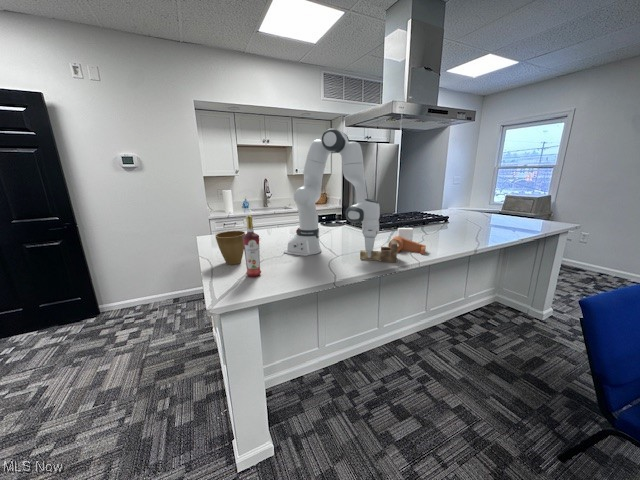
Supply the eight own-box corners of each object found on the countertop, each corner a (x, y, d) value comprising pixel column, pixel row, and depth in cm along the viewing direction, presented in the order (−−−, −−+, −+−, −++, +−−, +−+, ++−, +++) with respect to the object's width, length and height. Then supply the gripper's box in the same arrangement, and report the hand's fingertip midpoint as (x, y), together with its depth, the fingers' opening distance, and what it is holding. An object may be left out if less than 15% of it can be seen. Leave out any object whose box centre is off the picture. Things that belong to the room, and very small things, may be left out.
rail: (359, 259, 143) (360, 252, 142) (360, 257, 147) (360, 250, 146) (388, 260, 140) (388, 253, 139) (388, 258, 143) (388, 251, 142)
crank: (388, 251, 157) (388, 238, 155) (391, 248, 164) (391, 235, 162) (423, 256, 148) (424, 242, 146) (425, 252, 155) (426, 239, 153)
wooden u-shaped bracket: (380, 261, 139) (381, 243, 136) (380, 256, 146) (381, 239, 144) (396, 262, 137) (397, 244, 135) (395, 257, 145) (396, 240, 142)
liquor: (247, 279, 119) (241, 218, 111) (244, 273, 125) (239, 215, 118) (263, 276, 121) (258, 216, 114) (260, 271, 128) (255, 214, 121)
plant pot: (239, 256, 151) (236, 229, 147) (253, 262, 140) (250, 233, 136) (213, 262, 141) (210, 233, 137) (226, 269, 130) (223, 238, 126)
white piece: (398, 249, 160) (399, 230, 157) (395, 245, 169) (396, 226, 166) (413, 249, 160) (415, 230, 156) (409, 245, 168) (410, 226, 165)
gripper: (365, 225, 150) (364, 248, 154) (363, 234, 131) (362, 260, 135) (376, 226, 149) (375, 249, 152) (376, 234, 130) (374, 261, 133)
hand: (369, 254), depth 143 cm, fingers open, 8 cm apart
